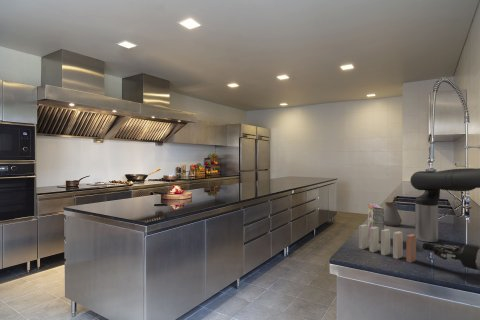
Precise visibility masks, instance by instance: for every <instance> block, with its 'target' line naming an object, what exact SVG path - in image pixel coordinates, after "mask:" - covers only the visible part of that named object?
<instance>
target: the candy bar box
mask: <svg viewBox="0 0 480 320" xmlns="http://www.w3.org/2000/svg"><path fill="white" fill-rule="evenodd" d="M383 212H384V207H382V205H379V204H377V203H368V204H367V225H368V238H370V228H372V227H379V243H381V230H384V228H385V227H384V217H383Z"/></svg>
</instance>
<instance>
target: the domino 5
mask: <svg viewBox="0 0 480 320" xmlns="http://www.w3.org/2000/svg"><path fill="white" fill-rule="evenodd" d="M405 236H406V240H405V241H406V246H405V248H406V252H405V253H406V259H405V260H406V262H407V263H414V262H416V261H417V239H416V235H415V234H414V233H410V234H407V235H405Z"/></svg>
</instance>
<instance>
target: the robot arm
mask: <svg viewBox="0 0 480 320" xmlns="http://www.w3.org/2000/svg"><path fill="white" fill-rule="evenodd" d="M410 184H411V186H412V188H414V189H416V190H418V191H424V192H423V193H422V194H421V195H419V196H417V197H416V198H415V201H414V202H415V203H414V205H415V209H414V210H415V212H414V213H415V218H414V219H415V224H414V225H415V226H414V227H415V235H416V240H418V241H422V242H424V243H423V244H422V249H423V250H426V251H429V252H433V255H435V256H437V257H439V258H440V259H442V260H447V259H450V260H453V261H457V260H458V261H460V262H461V265H462V266H463V267H464V268H469V269H472V270H476V271H480V246H476V245H472V244H464V245H463V246H462V248H461V247H460V245H459V244H456V245H455V244H443V243H440V244H433V243H435V242H438V241H439V200H440V195H441V190H442V191H451V192H469V191H473V190H475V189H480V167H479V168H469V167H467V168H454V169H453V168H452V169H451V168H450V169H444V170H439V171H433V170H431V171H430V170H429V171H427V170H424V171H423V170H420V171H415V172H414V173H413V174H412V175H411V177H410Z"/></svg>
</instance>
